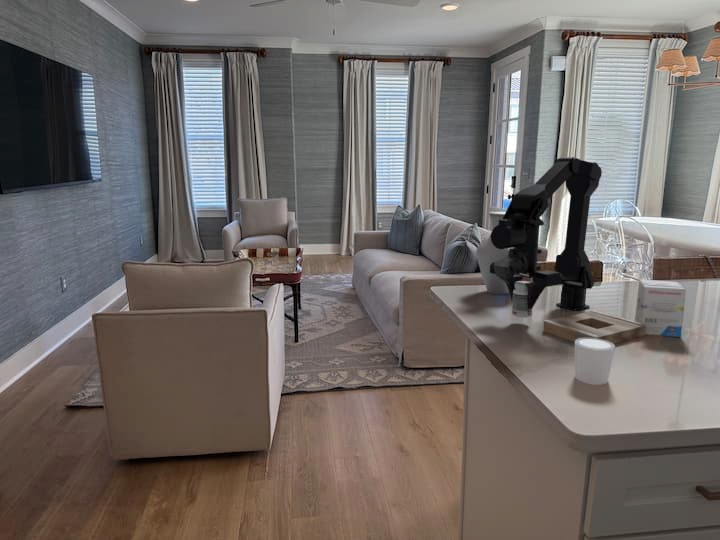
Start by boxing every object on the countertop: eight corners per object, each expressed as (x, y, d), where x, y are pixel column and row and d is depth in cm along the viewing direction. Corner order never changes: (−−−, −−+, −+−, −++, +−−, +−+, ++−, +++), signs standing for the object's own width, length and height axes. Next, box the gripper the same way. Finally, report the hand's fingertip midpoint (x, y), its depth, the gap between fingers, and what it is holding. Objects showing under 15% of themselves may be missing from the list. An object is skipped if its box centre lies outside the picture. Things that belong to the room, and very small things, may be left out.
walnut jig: (592, 320, 131) (593, 310, 131) (645, 335, 119) (646, 324, 119) (543, 331, 123) (543, 320, 122) (594, 349, 111) (595, 337, 110)
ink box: (672, 327, 126) (678, 280, 123) (681, 338, 118) (687, 288, 115) (633, 323, 128) (638, 278, 126) (639, 334, 121) (644, 285, 118)
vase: (474, 286, 169) (477, 210, 164) (519, 287, 166) (524, 210, 161) (475, 296, 155) (478, 214, 150) (524, 299, 152) (529, 215, 147)
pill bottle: (532, 318, 126) (534, 285, 124) (512, 317, 127) (514, 284, 125) (530, 313, 130) (532, 281, 129) (511, 312, 131) (512, 280, 130)
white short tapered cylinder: (565, 372, 99) (567, 337, 97) (599, 370, 99) (602, 336, 98) (583, 387, 92) (586, 350, 91) (619, 385, 93) (623, 349, 91)
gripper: (474, 242, 129) (472, 302, 132) (531, 253, 113) (527, 321, 116) (507, 239, 134) (504, 296, 138) (566, 249, 118) (561, 314, 122)
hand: (522, 306), depth 128 cm, fingers closed on pill bottle, 5 cm apart
